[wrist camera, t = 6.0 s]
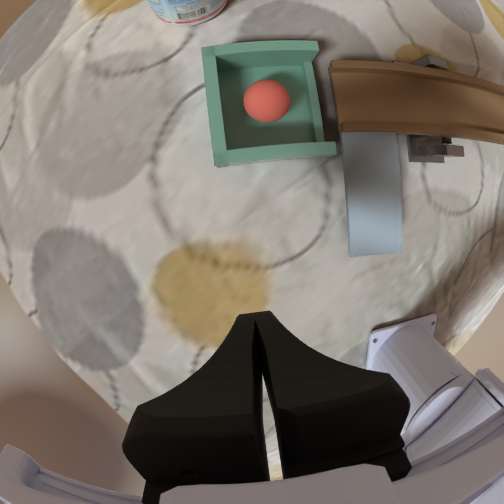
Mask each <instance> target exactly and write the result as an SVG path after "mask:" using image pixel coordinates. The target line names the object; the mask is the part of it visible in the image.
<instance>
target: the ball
mask: <svg viewBox="0 0 504 504" xmlns="http://www.w3.org/2000/svg"><path fill="white" fill-rule="evenodd" d="M243 102H244V107H245V110H246V111H247V113H248V114H249V115H250V116H251V117H252V118H253V119H255V120H257V121H260V122H264V123H270V122H275V121H277V120H279V119H281V118H282V117H283V116H284V115H285V114H286V113H287V111H288V109H289V107H290V96H289V93H288V91H287V90H286V88H285V87H284V86H283V85H282V84H280V83H279V82H277V81H274V80H270V79H264V80H259V81H256V82H254V83H253V84H251V85H250V86H249V87H248V89H247V90H246V92H245V94H244V99H243Z"/></svg>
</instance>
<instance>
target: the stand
mask: <svg viewBox="0 0 504 504" xmlns="http://www.w3.org/2000/svg"><path fill="white" fill-rule="evenodd" d="M392 63H401V64H408V63H403V62H398V61H392ZM409 65H416V66H423V67H429V68H435V69H440V70H447V69H448V66H447V62H446V60H444V59H441V58H438V57H435V56H431V55H426V56H424V57H423V58H421V59H419V60H417V61H415V62H413V63H411V64H409ZM406 136H407V144H408V153H409V162H434V163H444V157H464V148H463V146H457V145H448V144H444V145H443V144H442V136H430V135H414V134H406Z"/></svg>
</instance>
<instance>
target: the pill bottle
mask: <svg viewBox="0 0 504 504" xmlns="http://www.w3.org/2000/svg"><path fill="white" fill-rule="evenodd" d="M147 1H148V2H149V4H150V6H151V8H152V9H153V11H154V13H155V14H156V16H157V17H158V18H159V19H160V20H161V21H162V22H164V23H166V24H169V25H173V26H191V25H196V24H200V23H203V22H205V21H208V20H210V19H211V18H213V17H215V16H216V15H217V14H218V13H219V12H220V11H221V10H222V9H223V8H224V6H225V4H226V2H227V0H147Z"/></svg>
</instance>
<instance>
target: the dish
mask: <svg viewBox="0 0 504 504" xmlns="http://www.w3.org/2000/svg"><path fill="white" fill-rule="evenodd" d="M318 52H319V46H318V42H317V41H304V40H277V41H255V42H242V43H232V44H223V45H216V46H209V47H202V59H203V69H204V79H205V88H206V97H207V106H208V115H209V124H210V132H211V140H212V148H213V156H214V164H215V166H216V167H218V168H219V167H227V166H234V165H242V164H250V163H259V162H268V161H278V160H290V159H302V158H317V157H325V156H330V155H335V154H337V150H336V142H325V140H324V132H323V125H322V118H321V112H320V105H319V99H318V93H317V88H316V82H315V77H314V72H313V67H312V61H313V59H314V58H315V56H316V55H317V53H318ZM264 79H270V80H274V81H277V82H279V83H280V84H282V85H283V86H284V87H285V88H286V90H287V91H288V93H289V96H290V107H289V109H288V111H287V113H286V114H285V115H284V116H283V117H282V118H281V119H279V120H277V121H275V122H270V123H264V122H260V121H257V120H255V119H253V118H252V117H251V116H250V115H249V114H248V113H247V111H246V110H245V107H244V102H243V99H244V94H245V92H246V90H247V89H248V87H249V86H250V85H251V84H253V83H254V82H256V81H259V80H264Z"/></svg>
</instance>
